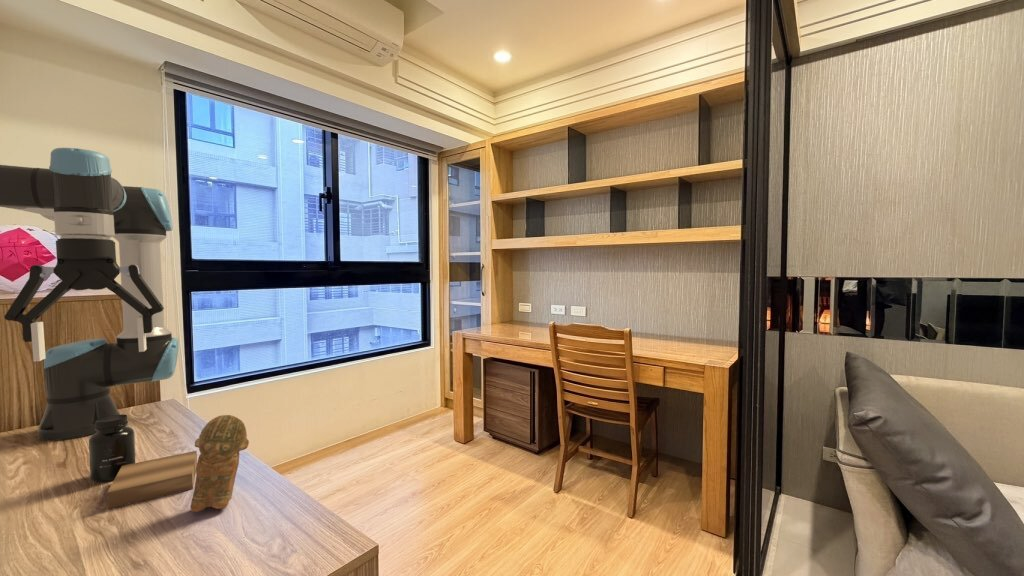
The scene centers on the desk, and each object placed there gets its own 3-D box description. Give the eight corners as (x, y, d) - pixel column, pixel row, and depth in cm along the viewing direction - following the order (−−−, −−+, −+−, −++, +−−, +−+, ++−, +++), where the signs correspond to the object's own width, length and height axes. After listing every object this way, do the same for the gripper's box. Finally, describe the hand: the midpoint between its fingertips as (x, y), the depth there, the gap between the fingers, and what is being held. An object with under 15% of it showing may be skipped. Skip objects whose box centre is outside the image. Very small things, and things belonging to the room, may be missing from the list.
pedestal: (122, 480, 85) (122, 465, 84) (197, 464, 91) (196, 450, 91) (108, 509, 75) (107, 492, 74) (192, 488, 81) (191, 473, 81)
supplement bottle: (108, 485, 83) (104, 425, 82) (81, 481, 84) (77, 423, 83) (144, 468, 89) (141, 413, 89) (119, 465, 91) (116, 411, 90)
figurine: (189, 521, 71) (184, 434, 70) (199, 497, 78) (195, 418, 77) (248, 507, 75) (244, 424, 74) (252, 486, 82) (249, 410, 81)
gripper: (-33, 234, 66) (-22, 369, 67) (172, 238, 79) (178, 350, 80) (-9, 237, 72) (0, 360, 73) (176, 240, 86) (182, 344, 87)
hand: (93, 355), depth 77 cm, fingers open, 13 cm apart
